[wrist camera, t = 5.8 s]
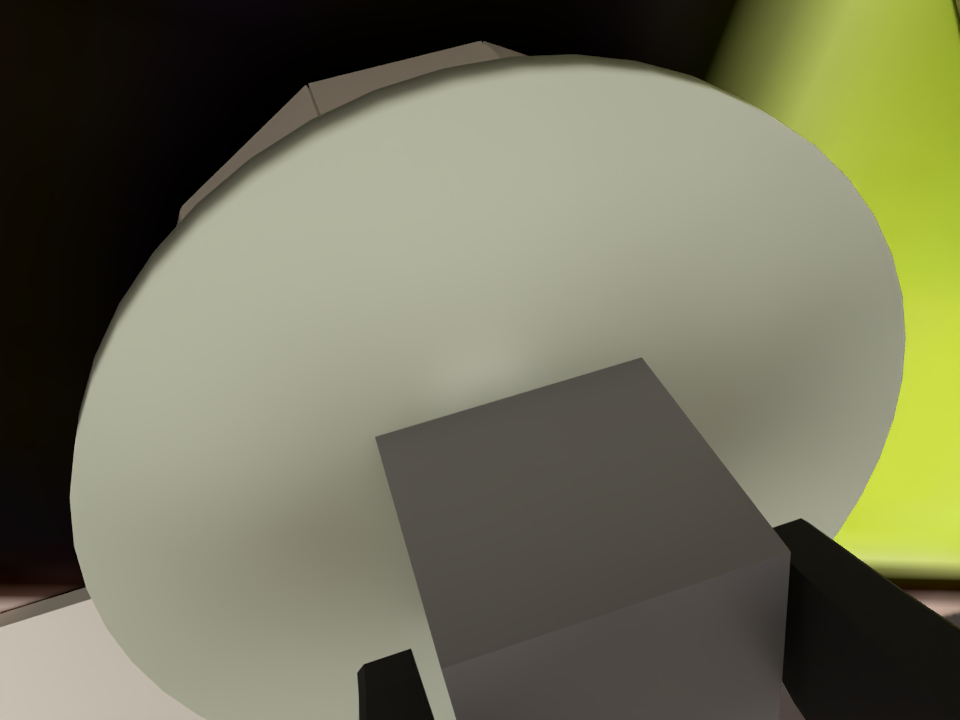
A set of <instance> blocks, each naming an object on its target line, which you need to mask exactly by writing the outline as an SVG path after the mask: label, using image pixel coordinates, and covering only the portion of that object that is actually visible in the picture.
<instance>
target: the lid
mask: <svg viewBox="0 0 960 720" xmlns="http://www.w3.org/2000/svg"><path fill="white" fill-rule="evenodd" d="M904 350H905V325H904V311H903V298H902V293H901V289H900V285H899V281H898V277H897V273H896V269H895V264H894V260H893V256H892V254H891V252H890V249H889V247H888V245H887V243H886V240H885V238H884V236H883V234H882V231H881V229H880V227H879V225H878V222H877V220H876V218H875V216H874V214H873V213H872V212H871V210H870V209H869V207H868V206H867V204H866V203H865V201H864V200H863V199H862V197H861V196H860V194H859V193H858V191H857V190H856V188H855V187H854V186H853V184H852V183H851V181H850V180H849V179H848V178H847V177H846V176H845V175H844V174H843V173H842V172H841V171H840V170H839V169H838V168H837V167H836V166H835V165H834V164H833V163H832V162H831V161H830V160H829V159H828V158H827V157H826V156H825V155H824V154H823V153H822V152H821V151H820V150H819V149H818V148H817V147H816V146H815V145H813V144H812V143H810V142H809V141H807V140H806V139H805V138H803V137H802V136H800V135H799V134H797V133H796V132H794V131H793V130H791V129H790V128H788V127H787V126H785V125H784V124H782V123H781V122H779V121H778V120H776V119H775V118H773V117H772V116H770V115H769V114H767V113H765V112H764V111H762V110H760V109H759V108H757V107H756V106H754V105H752V104H751V103H749V102H747V101H746V100H744V99H742V98H741V97H738V96H736V95H734V94H732V93H730V92H727V91H725V90H723V89H721V88H718V87H716V86H714V85H712V84H709V83H707V82H705V81H703V80H701V79H698V78H696V77H694V76H691V75H688V74H684V73H680V72H676V71H672V70H669V69H665V68H661V67H657V66H654V65H650V64H646V63H642V62H639V61H633V60H623V59H614V58H605V57H595V56H586V55H577V54H569V55H542V56H516V57H505V58H499V59H494V60H488V61H482V62H477V63H471V64H465V65H460V66H454V67H448V68H443V69H439V70H436V71H433V72H430V73H427V74H423V75H420V76H417V77H414V78H411V79H408V80H404V81H401V82H398V83H395V84H392V85H389V86H386V87H382V88H379V89H376V90H373V91H371V92H369V93H367V94H365V95H363V96H361V97H359V98H356V99H354V100H352V101H350V102H348V103H346V104H344V105H341V106H339V107H337V108H335V109H333V110H331V111H329V112H326V113H324V114H322V115H320V116H318V117H316V118H314V119H312V120H310V121H308V122H306V123H305V124H303V125H302V126H300V127H299V128H297V129H295V130H294V131H292V132H291V133H289V134H288V135H286V136H284V137H283V138H281V139H280V140H278V141H277V142H275V143H274V144H272V145H270V146H269V147H267V148H266V149H264V150H263V151H261V152H259V153H258V154H256V155H255V156H253V157H252V158H250V159H249V160H248V161H247V162H245V163H244V164H243V165H242V166H241V167H239V168H238V169H237V170H236V171H235V172H234V173H232V174H231V175H230V176H229V177H228V178H226V179H225V180H224V181H223V182H222V183H221V184H219V185H218V186H217V187H216V188H215V189H213V190H212V191H211V192H210V193H209V194H207V195H206V196H205V197H204V198H203V199H202V200H200V201H199V202H198V203H197V204H196V205H195V206H194V207H193V209H192V210H191V211H190V212H189V213H188V214H187V215H186V216H185V217H184V219H183V220H182V221H181V222H180V223H179V224H178V225H177V226H176V228H175V229H174V230H173V231H172V232H171V233H170V234H169V235H168V236H167V238H166V239H165V240H164V241H163V242H162V243H161V244H160V245H159V246H158V248H157V249H156V250H155V251H154V252H153V254H152V255H151V257H150V258H149V260H148V261H147V263H146V264H145V266H144V267H143V269H142V270H141V272H140V273H139V275H138V276H137V278H136V279H135V281H134V282H133V284H132V285H131V287H130V288H129V290H128V291H127V293H126V294H125V296H124V297H123V299H122V300H121V302H120V303H119V305H118V307H117V309H116V312H115V314H114V316H113V318H112V320H111V322H110V325H109V327H108V329H107V331H106V333H105V335H104V338H103V340H102V342H101V344H100V346H99V348H98V351H97V353H96V355H95V357H94V361H93V365H92V368H91V372H90V376H89V379H88V383H87V386H86V390H85V394H84V397H83V401H82V405H81V408H80V414H79V421H78V427H77V434H76V440H75V447H74V458H73V468H72V479H71V489H70V506H71V517H72V528H73V538H74V547H75V550H76V554H77V557H78V561H79V564H80V568H81V571H82V575H83V578H84V581H85V585H86V588H87V591H88V593H89V595H90V597H91V599H92V601H93V603H94V605H95V607H96V609H97V611H98V613H99V615H100V617H101V618H102V620H103V622H104V624H105V626H106V628H107V630H108V631H109V632H110V634H111V635H112V636H113V638H114V639H115V640H116V642H117V643H118V644H119V646H120V647H121V648H122V649H123V651H124V652H125V653H126V655H127V656H128V657H129V659H130V660H131V661H132V663H133V664H135V665H136V666H137V667H138V668H139V669H140V670H141V671H142V672H143V673H144V674H145V675H146V676H147V677H148V678H149V679H151V680H152V681H153V682H154V683H155V684H156V685H157V686H158V687H159V688H160V689H161V690H162V691H163V692H165V693H166V694H168V695H169V696H171V697H172V698H174V699H175V700H177V701H178V702H180V703H181V704H183V705H184V706H185V707H187V708H188V709H190V710H191V711H193V712H194V713H196V714H197V715H199V716H201V717H203V718H205V719H207V720H359V693H358V679H357V672H358V671H359V670H360V668H361V667H362V666H363V665H364V664H366V663H369V662H372V661H375V660H378V659H381V658H384V657H387V656H390V655H393V654H396V653H399V652H402V651H405V650H408V649H411V650H412V653H413V656H414V659H415V662H416V665H417V668H418V671H419V674H420V677H421V680H422V683H423V686H424V689H425V692H426V695H427V698H428V701H429V704H430V707H431V710H432V713H433V716H434V719H435V720H779V715H780V714H779V713H780V702H781V687H782V673H783V658H784V644H785V629H786V615H787V600H788V586H789V571H790V557H791V551H790V550H789V549H788V547H787V546H786V545H785V544H784V542H783V541H782V540H781V538H780V537H779V536H778V534H777V533H776V532H775V531H774V529H773V527H776V526H779V525H782V524H785V523H788V522H791V521H794V520H797V519H800V518H802V519H804V520H806V521H807V522H809V523H810V524H812V525H813V526H814V527H816V528H817V529H819V530H820V531H821V532H823V533H824V534H825V535H827V536H828V537H830V538H831V539H832V540H833V538H834V537H835V536H836V534H837V533H838V532H839V530H840V529H841V527H842V525H843V524H844V522H845V521H846V519H847V517H848V516H849V514H850V513H851V511H852V509H853V508H854V506H855V505H856V503H857V501H858V500H859V498H860V497H861V495H862V493H863V491H864V489H865V487H866V485H867V483H868V481H869V479H870V477H871V474H872V472H873V470H874V468H875V466H876V464H877V462H878V460H879V458H880V455H881V453H882V450H883V447H884V444H885V441H886V438H887V436H888V433H889V430H890V427H891V424H892V422H893V419H894V414H895V410H896V405H897V400H898V396H899V391H900V387H901V382H902V376H903V363H904Z"/></svg>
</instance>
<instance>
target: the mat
mask: <svg viewBox="0 0 960 720" xmlns="http://www.w3.org/2000/svg"><path fill="white" fill-rule="evenodd" d="M0 720H207V719H205V718H203V717H201V716H199V715H197V714H196V713H194V712H193V711H191V710H190V709H188V708H187V707H185V706H184V705H183V704H181V703H180V702H178V701H177V700H175V699H174V698H172V697H171V696H169V695H168V694H166V693H165V692H163V691H162V690H161V689H160V688H159V687H158V686H157V685H156V684H155V683H154V682H153V681H152V680H151V679H149V678H148V677H147V676H146V675H145V674H144V673H143V672H142V671H141V670H140V669H139V668H138V667H137V666H136V665H135V664H133V663H132V661H131V660H130V659H129V657H128V656H127V655H126V653H125V652H124V651H123V649H122V648H121V647H120V646H119V644H118V643H117V642H116V640H115V639H114V638H113V636H112V635H111V634H110V632H109V631H108V630H107V628H106V626H105V624H104V622H103V620H102V618H101V617H100V615H99V613H98V611H97V609H96V607H95V605H94V603H93V601H92V599H91V597H90V595H89V593H88V591H87V588H86V587H85V588H82V589H79V590H75V591H72V592H69V593H66V594H63V595H59V596H56V597H53V598H50V599H46V600H43V601H40V602H37V603H34V604H30V605H27V606H24V607H21V608H17V609H14V610H11V611H8V612H5V613H1V614H0Z"/></svg>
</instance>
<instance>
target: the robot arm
mask: <svg viewBox="0 0 960 720" xmlns="http://www.w3.org/2000/svg"><path fill="white" fill-rule="evenodd" d="M773 529H774V531H775V532H776V533H777V534H778V536H779V537H780V538H781V540H782V541H783V542H784V544H785V545H786V546H787V547H788V549H789V550H790V551H791V557H790V571H789V586H788V600H787V615H786V629H785V644H784V658H783V673H782V681H783V683H784V685H785V687H786V689H787V691H788V692H789V694H790V696H791V698H792V700H793V701H794V703H795V704H796V706H797V708H798V709H799V711H800V712H801V713H802V715H803V716H804V718H805V719H806V720H960V628H959V627H957V626H955V625H954V624H953V623H951V622H950V621H948V620H947V619H945V618H944V617H942V616H940V615H939V614H937V613H936V612H934V611H933V610H931V609H930V608H928V607H927V606H925V605H924V604H922V603H921V602H920V601H918V600H917V599H915V598H914V597H912V596H911V595H909V594H908V593H906V592H905V591H904V590H902V589H901V588H899V587H898V586H896V585H895V584H894V583H892V582H891V581H889V580H888V579H886V578H885V577H884V576H882V575H881V574H879V573H878V572H877V571H875V570H874V569H872V568H871V567H870V566H868V565H867V564H865V563H864V562H863V561H861V560H860V559H858V558H857V557H856V556H854V555H853V554H851V553H850V552H849V551H847V550H846V549H845V548H843V547H842V546H840V545H839V544H838V543H836V542H835V541H834V540H832V539H831V538H830V537H828V536H827V535H825V534H824V533H823V532H821V531H820V530H819V529H817V528H816V527H814V526H813V525H812V524H810V523H809V522H807V521H806V520H804V519H802V518H800V519H797V520H794V521H791V522H788V523H785V524H782V525H779V526H776V527H773ZM357 679H358V693H359V720H435V719H434V716H433V713H432V710H431V707H430V704H429V701H428V698H427V695H426V692H425V689H424V686H423V683H422V680H421V677H420V674H419V671H418V668H417V665H416V662H415V659H414V656H413V653H412V650H411V649H408V650H405V651H402V652H399V653H396V654H393V655H390V656H387V657H384V658H381V659H378V660H375V661H372V662H369V663H366V664H364V665H363V666H362V667H361V668H360V670H359V671H358V672H357Z"/></svg>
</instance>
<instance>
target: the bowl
mask: <svg viewBox="0 0 960 720" xmlns="http://www.w3.org/2000/svg"><path fill="white" fill-rule="evenodd" d="M516 56H528V55H525V54H521V53H518V52H515V51H512V50H509V49H506V48H503V47H500V46H497V45H494V44H491V43H488V42H485V41H483V43H482V42H481V41H478V42H474V43H470V44H466V45H462V46H458V47H454V48H450V49H445V50H441V51H437V52H433V53H429V54H425V55H421V56H417V57H413V58H409V59H405V60H401V61H397V62H393V63H389V64H385V65H381V66H377V67H373V68H369V69H365V70H361V71H357V72H353V73H349V74H344V75H340V76H336V77H332V78H328V79H324V80H320V81H316V82H312V83H308V84H309V88H310V89H309V88H308V87H307V86H306V85H305V86H304V87H303V88H302V89H301V90H300V91H299V92H298V93H297V94H296V95H295V96H294V97H293V98H292V99H291V100H290V101H289V102H288V103H287V104H286V105H285V106H284V107H283V108H282V109H281V110H280V111H279V112H278V113H277V114H276V115H275V116H274V117H272V118H271V119H270V120H269V121H268V122H267V123H266V124H265V125H264V126H263V127H262V128H261V129H260V130H259V131H258V132H257V133H256V134H255V135H254V136H253V137H252V138H251V139H250V140H249V141H248V142H247V143H246V144H245V145H244V146H243V147H242V148H241V149H240V150H239V151H238V152H237V153H236V154H235V155H234V156H233V157H232V158H231V159H230V160H229V161H228V162H227V163H226V164H225V165H224V166H222V167H221V168H220V169H219V170H218V171H217V172H216V173H215V174H214V175H213V176H212V177H211V178H210V179H209V180H208V181H207V182H206V183H205V184H204V185H203V186H202V187H201V188H200V189H199V190H198V191H197V192H196V193H195V194H194V195H193V196H192V197H191V198H190V199H189V200H188V201H187V202H186V203H185V204H184V205H183V206H182V209H180V213H179V218H178V222H177V225H178V224H179V223H180V222H181V221H182V220H183V219H184V217H185V216H186V215H187V214H188V213H189V212H190V211H191V210H192V209H193V207H194V206H195V205H196V204H197V203H198V202H199V201H200V200H202V199H203V198H204V197H205V196H206V195H207V194H209V193H210V192H211V191H212V190H213V189H215V188H216V187H217V186H218V185H219V184H221V183H222V182H223V181H224V180H225V179H226V178H228V177H229V176H230V175H231V174H232V173H234V172H235V171H236V170H237V169H238V168H239V167H241V166H242V165H243V164H244V163H245V162H247V161H248V160H249V159H250V158H252V157H253V156H255V155H256V154H258V153H259V152H261V151H263V150H264V149H266V148H267V147H269V146H270V145H272V144H274V143H275V142H277V141H278V140H280V139H281V138H283V137H284V136H286V135H288V134H289V133H291V132H292V131H294V130H295V129H297V128H299V127H300V126H302V125H303V124H305V123H306V122H308V121H310V120H312V119H314V118H316V117H318V116H320V115H322V114H324V113H326V112H329V111H331V110H333V109H335V108H337V107H339V106H341V105H344V104H346V103H348V102H350V101H352V100H354V99H356V98H359V97H361V96H363V95H365V94H367V93H369V92H371V91H373V90H376V89H379V88H382V87H386V86H389V85H392V84H395V83H398V82H401V81H404V80H408V79H411V78H414V77H417V76H420V75H423V74H427V73H430V72H433V71H436V70H439V69H443V68H448V67H454V66H460V65H465V64H471V63H477V62H482V61H488V60H494V59H499V58H505V57H516Z"/></svg>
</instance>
